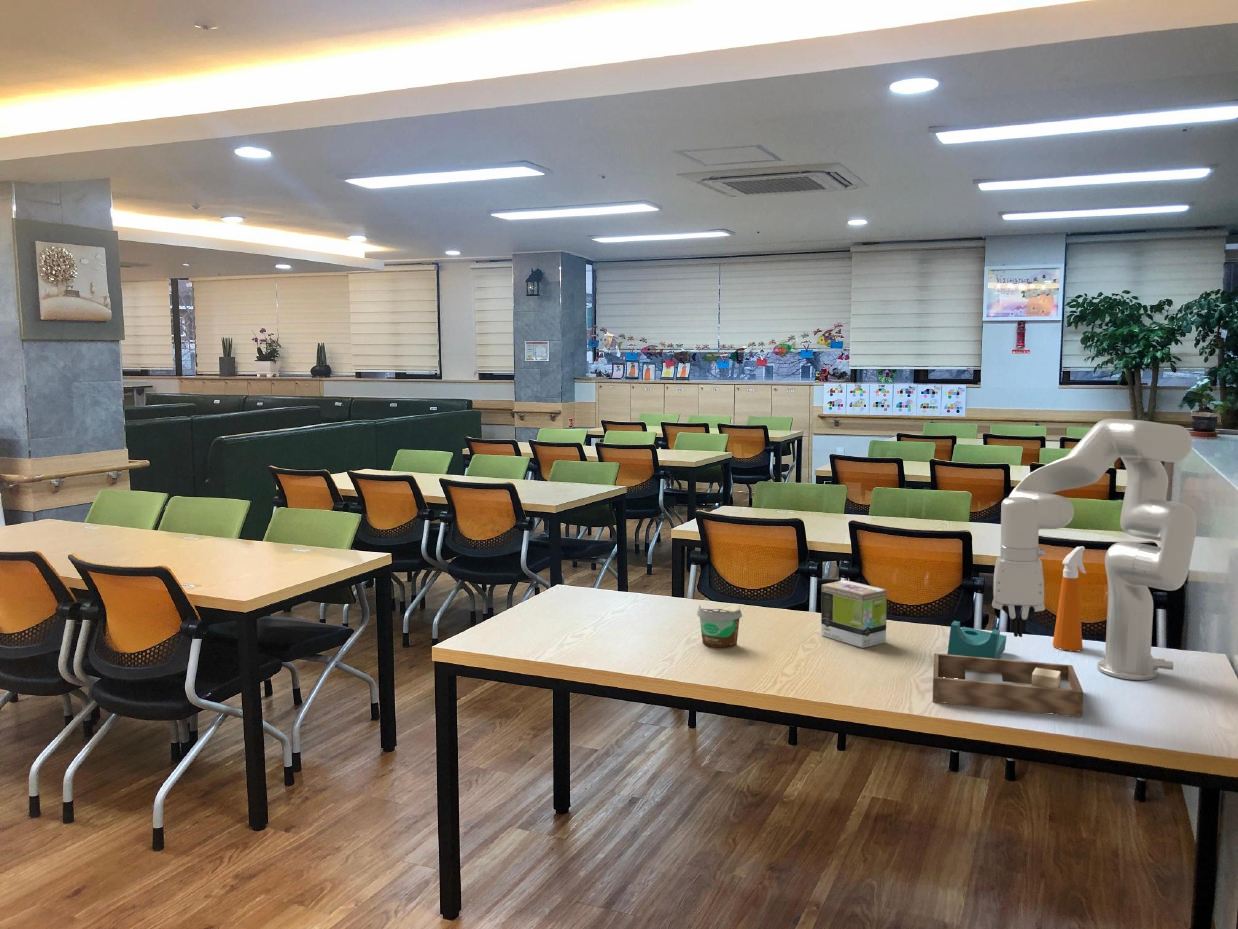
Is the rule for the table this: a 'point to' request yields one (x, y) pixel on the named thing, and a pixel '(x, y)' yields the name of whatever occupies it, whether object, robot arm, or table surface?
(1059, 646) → the spray bottle
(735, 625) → the food container
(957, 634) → the teal l-shaped bracket
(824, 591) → the tea box
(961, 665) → the box
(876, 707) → the table surface
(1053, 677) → the block
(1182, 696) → the table surface
